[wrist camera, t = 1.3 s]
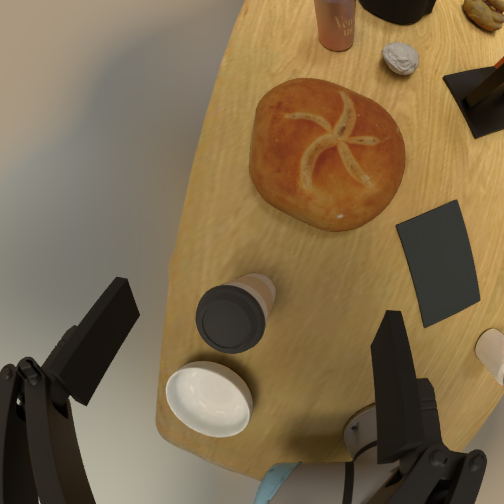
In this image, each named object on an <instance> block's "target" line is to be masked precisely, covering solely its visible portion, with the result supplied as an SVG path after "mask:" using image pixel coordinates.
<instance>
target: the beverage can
mask: <svg viewBox="0 0 504 504" xmlns="http://www.w3.org/2000/svg"><path fill="white" fill-rule="evenodd" d="M314 4H315V11H316V17H317V25H318V32H319V39H320V42H321V43H322V44H323V45H324V46H325V47H327V48H328V49H331V50H334V51H343V50H346V49H348V48H349V47H351V45H352V44H353V38H354V24H355V6H356V0H314Z"/></svg>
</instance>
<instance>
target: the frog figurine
mask: <svg viewBox="0 0 504 504" xmlns="http://www.w3.org/2000/svg"><path fill="white" fill-rule="evenodd" d="M382 54H383V57H384V60H385V62H386V63H387V65H388V67H389V68H390V69H391V70H392V71H393V72H395V73H397V74H400V75H406V74H412V73H413V72H414V69H416V68H417V67H418V65H419V60H418V58H419V57H418V53H417V51H416V50H415V49H414V48H413V47H412V46H410V45H408V44H404V43H400V42H393V43H391V44H388V45H386V46H385V47H384V49H383V50H382Z"/></svg>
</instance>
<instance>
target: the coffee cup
mask: <svg viewBox="0 0 504 504" xmlns="http://www.w3.org/2000/svg"><path fill="white" fill-rule="evenodd" d="M275 296H276V291H275V287H274V285H273V283H272V281H271V280H270V279H269V278H268V277H266V276H265V275H263V274H260V273H250V274H247V275H245V276H241V277H238V278H236V279H233V280H231V281H229V282H226V283H224V284H221V285H219V286H216V287H214V288H212V289H210V290H208V291H207V292H206V293H205V294H204V295H203V296H202V298H201V300H200V302H199V304H198V307H197V310H196V325H197V329H198V331H199V333H200V335H201V337H202V338H203V340H204V341H205V342H206V343H207V344H208V345H209V346H211V347H212V348H214V349H215V350H217V351H220V352H223V353H228V354H236V353H241V352H244V351H246V350H248V349H250V348H252V347H254V346H255V345H256V344H257V343H258V342H259V341H260V339H261V338H262V336H263V333H264V330H265V327H266V324H267V321H268V319H269V316H270V313H271V310H272V307H273V303H274V300H275Z"/></svg>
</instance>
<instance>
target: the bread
mask: <svg viewBox="0 0 504 504" xmlns="http://www.w3.org/2000/svg"><path fill="white" fill-rule="evenodd" d="M404 168H405V145H404V141H403V137H402V134H401V132H400V130H399V128H398V126H397V124H396V122H395V121H394V119H393V118H392V117H391V115H390V114H389V113H388V112H387V111H386V110H385V109H384V108H383V107H381V106H380V105H379V104H378V103H376V102H375V101H373V100H371V99H369V98H367V97H365V96H362V95H360V94H358V93H356V92H353V91H351V90H349V89H347V88H345V87H342V86H340V85H337V84H334V83H331V82H328V81H325V80H320V79H313V78H297V79H292V80H289V81H287V82H284V83H282V84H280V85H278V86H276V87H274V88H273V89H272V90H270V91H269V92H267V93H266V94H265V95H264V97H263V98H262V99H261V100H260V102H259V103H258V105H257V108H256V113H255V119H254V125H253V131H252V138H251V146H250V158H249V173H250V177H251V179H252V181H253V184H254V186H255V188H256V189H257V191H258V192H259V194H260V195H261V196H262V198H263V199H264V200H265V201H266V202H268V203H269V204H270V205H272V206H274V207H275V208H277V209H279V210H281V211H283V212H285V213H287V214H289V215H291V216H293V217H295V218H297V219H299V220H301V221H303V222H305V223H307V224H309V225H311V226H313V227H316V228H318V229H321V230H325V231H330V232H339V231H347V230H352V229H355V228H358V227H360V226H362V225H364V224H366V223H367V222H369V221H371V220H372V219H374V218H375V217H376V216H378V215H379V214H380V213H381V212H382V211H383V210H384V209H385V208H386V207H387V206H388V205H389V203H390V202H391V200H392V199H393V197H394V196H395V194H396V192H397V190H398V188H399V186H400V183H401V181H402V178H403V174H404Z"/></svg>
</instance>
